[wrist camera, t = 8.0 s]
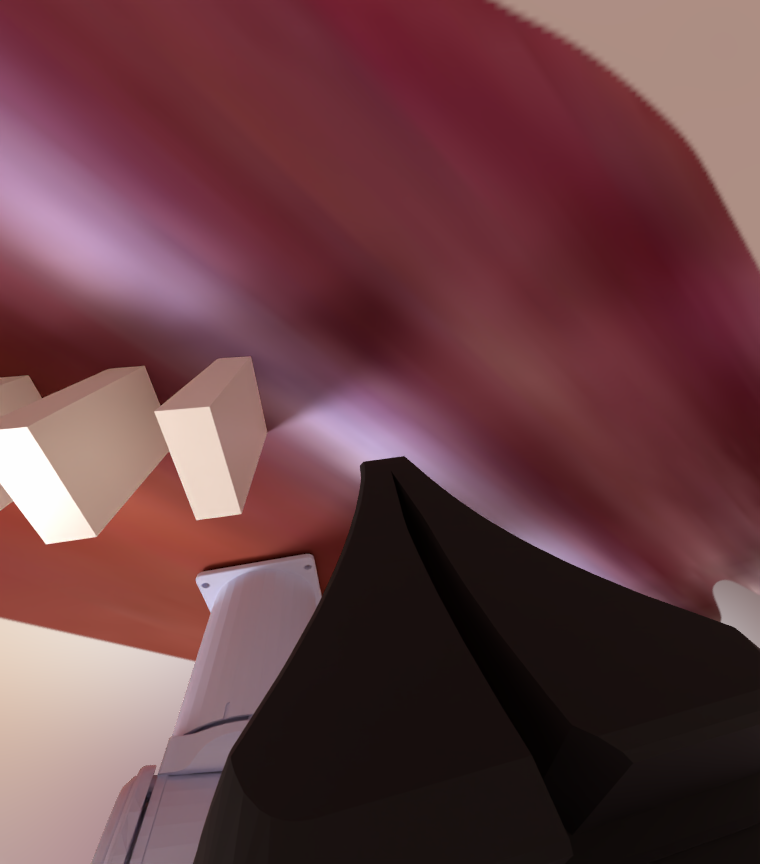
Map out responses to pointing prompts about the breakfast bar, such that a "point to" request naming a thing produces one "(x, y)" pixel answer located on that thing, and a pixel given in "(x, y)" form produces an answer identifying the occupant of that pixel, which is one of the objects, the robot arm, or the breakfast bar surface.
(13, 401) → the domino
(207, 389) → the domino
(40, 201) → the breakfast bar surface
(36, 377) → the breakfast bar surface
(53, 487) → the domino
